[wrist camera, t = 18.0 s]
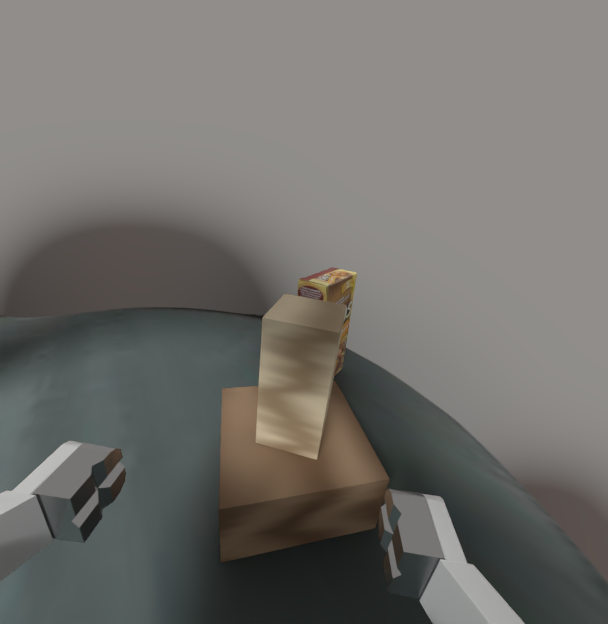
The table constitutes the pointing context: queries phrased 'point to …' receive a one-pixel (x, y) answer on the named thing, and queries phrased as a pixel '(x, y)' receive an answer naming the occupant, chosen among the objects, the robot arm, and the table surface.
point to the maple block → (297, 372)
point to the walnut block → (293, 481)
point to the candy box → (332, 297)
